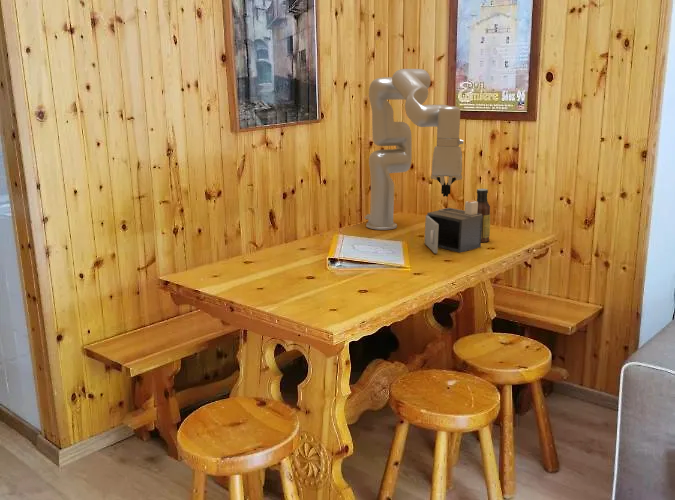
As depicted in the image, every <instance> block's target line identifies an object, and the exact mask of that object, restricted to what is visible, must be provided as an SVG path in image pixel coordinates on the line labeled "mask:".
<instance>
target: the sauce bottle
mask: <svg viewBox="0 0 675 500" xmlns="http://www.w3.org/2000/svg"><path fill="white" fill-rule="evenodd" d="M488 193H489V190H488V189H486V188H478V189H476V194H477V195H476V202H478V211H477V213H479V214H482V215H483V218H482V234H481V243H487V242H489V241H490V236H491V235H490V233H491V205H490V204H489V202H488Z"/></svg>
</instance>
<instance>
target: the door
mask: <svg viewBox="0 0 675 500" xmlns="http://www.w3.org/2000/svg"><path fill="white" fill-rule="evenodd" d="M424 223H425V224H424V225H425V228H424V245H426V247H427V248H429V250H431V251H432V252H433V253H434V254H438V250H439V247H438V230H439V224H438V223H436V222H435V221H434V220H433V219H432V218H430V217H429V216H428V215H427V214H426V215H425V222H424Z"/></svg>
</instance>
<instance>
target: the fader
mask: <svg viewBox="0 0 675 500" xmlns="http://www.w3.org/2000/svg"><path fill="white" fill-rule="evenodd" d="M464 211H465V214H467V215H475V214H477V211H478V202H477V199H472V200H468V201H465V203H464Z"/></svg>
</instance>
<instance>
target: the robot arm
mask: <svg viewBox="0 0 675 500" xmlns="http://www.w3.org/2000/svg"><path fill="white" fill-rule="evenodd" d="M431 81H432V80H431V76H430V74H429V73H428V71H426V69H423V68H399V69H398V70H396V71H395V72H394V73H393V75H392V76H391V77H390V76H385V77H378V78H375V79H373V80H372V81H371V83H370V84H369V88H368V98H369V103H370V107H371V127H372V128H371V131H372V132H371V133H372V134H371V135H372V141H373V144H374V145H376V146H378V147H394V146H395V147H396V148H393V149H391V148H390V149H389V148H388V149H377V150H374V151H373V152H372V153H371V154H370V155H369V158H368V166H369V173H370V174H369V175H370V211H369V212H370V213H367V214H366V215H365V216H364V219H365V220H367V222H366V224H365V225H366V228H367V229H371V230H377V231H387V230H394V229H397V227H398V224H397V223H396V222H394V208H395V207H394V206H395V183H394V181H393V179H392V177H391V176H390V174H396V173H399V174H400V173H406V172H408V171H409V170H410V168H411V167H412V152H413V151H412V147H413V145H412V141H413V140H412V138H413V137H412V130H411V128H410V126H409V124H408V123H407V122H405V121H394V108H393V106H392V104H391V103H390V102H389V101H388V100H390V101H391V100H392V101H393V100H394V101H395V100H396V101H398V100H404V101H405V102H404V103H405V104H404V110H405V114H406V116H407V118H408V119H409V120H410V121H411V122H412V123H413V124H414V125H415V126H417V127H420V128H427V127H428V128H431V127H435V128H436V127H437V128H436V131H437V132H436V146H434V148H433V153H432V162H431V175H430V179H433V180H436V181H437V182H439V184H440V185H441V192H440V193H441V194H442V196H443V197H446V198H447V197H449V195H450V194H451V186H452V184H453V183H455V182H456V181H460V180H462V179H463V176H462V172H463V153H462V147H461V145H463V144H464V140H463V139H460V128H461V127H460V125H461V109H460V108H459V107H458V106H454V105H448V104H424V103H425V102H426V101H427V99H428V98H429V97H428V96H429V90H428V89H429V88H430V87H431ZM445 177H448V179H447V183H446V181H445V180H446V179H445Z"/></svg>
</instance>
